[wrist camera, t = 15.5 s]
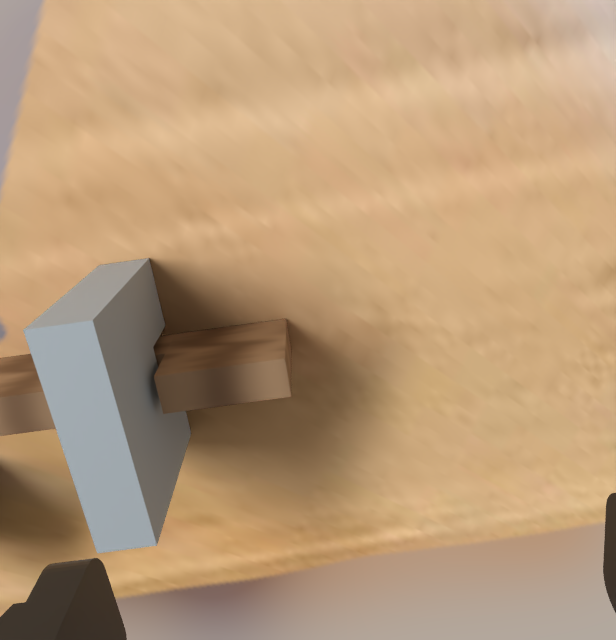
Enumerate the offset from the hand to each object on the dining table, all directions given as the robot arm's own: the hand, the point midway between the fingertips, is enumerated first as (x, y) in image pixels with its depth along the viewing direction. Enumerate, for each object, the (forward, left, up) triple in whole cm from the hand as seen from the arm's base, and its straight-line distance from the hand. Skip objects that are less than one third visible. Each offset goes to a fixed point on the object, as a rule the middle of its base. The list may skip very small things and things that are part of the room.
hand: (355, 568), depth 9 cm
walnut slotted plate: (+11, -15, -38) cm, 42 cm away
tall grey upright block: (+11, -15, -38) cm, 42 cm away
